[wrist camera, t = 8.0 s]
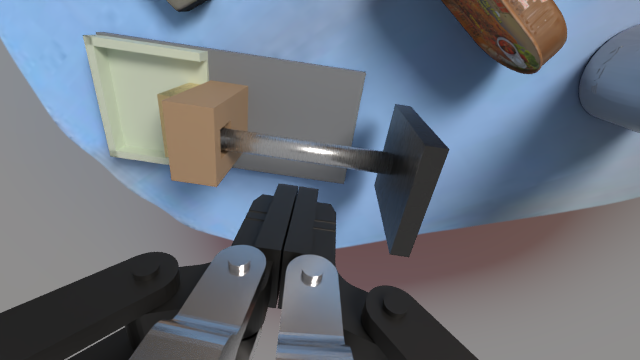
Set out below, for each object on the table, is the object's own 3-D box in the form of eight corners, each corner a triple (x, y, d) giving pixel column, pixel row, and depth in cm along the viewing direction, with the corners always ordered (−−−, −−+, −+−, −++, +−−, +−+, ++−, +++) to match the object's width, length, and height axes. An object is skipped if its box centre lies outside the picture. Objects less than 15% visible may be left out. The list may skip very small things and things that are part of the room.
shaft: (410, 106, 28) (449, 149, 18) (387, 187, 32) (409, 257, 22) (213, 76, 27) (145, 103, 18) (217, 162, 32) (163, 221, 22)
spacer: (207, 85, 30) (179, 97, 25) (210, 138, 33) (185, 159, 28) (188, 82, 30) (157, 94, 25) (193, 136, 33) (165, 156, 28)
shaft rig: (365, 71, 30) (376, 91, 21) (343, 180, 36) (345, 233, 27) (103, 32, 30) (-5, 34, 21) (126, 148, 36) (51, 190, 27)
